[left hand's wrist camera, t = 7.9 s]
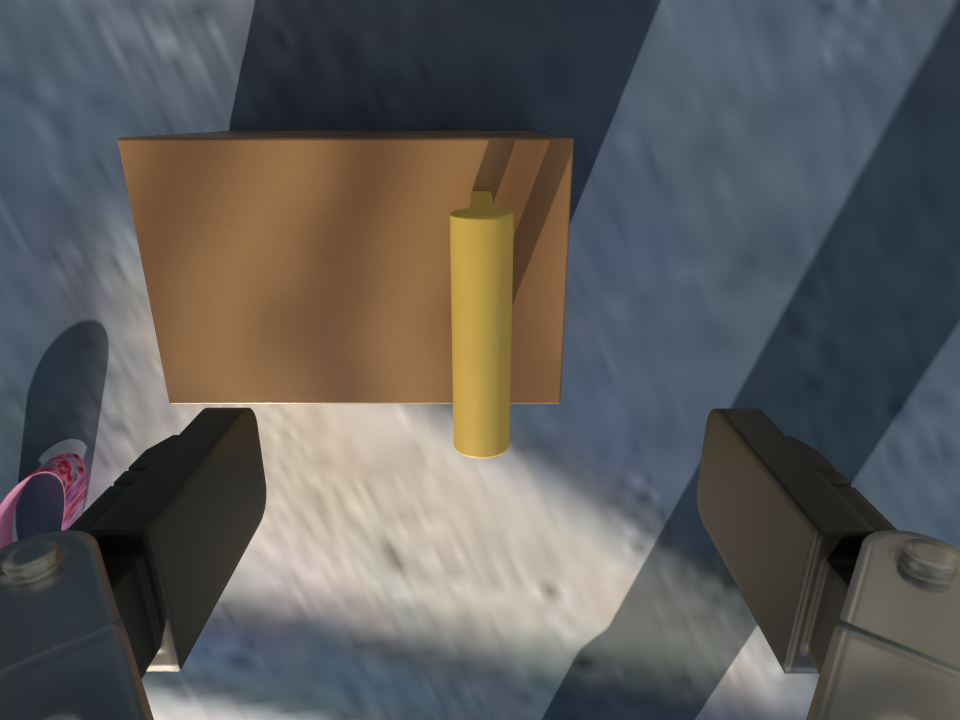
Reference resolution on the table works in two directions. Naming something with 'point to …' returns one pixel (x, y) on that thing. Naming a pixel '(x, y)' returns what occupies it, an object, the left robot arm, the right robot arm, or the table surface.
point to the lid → (358, 271)
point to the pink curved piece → (74, 486)
